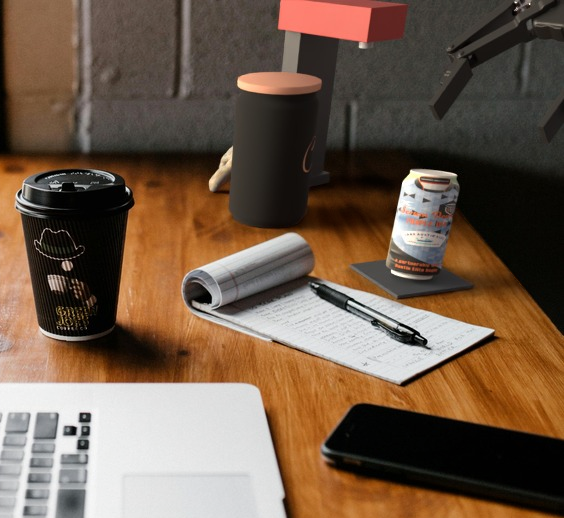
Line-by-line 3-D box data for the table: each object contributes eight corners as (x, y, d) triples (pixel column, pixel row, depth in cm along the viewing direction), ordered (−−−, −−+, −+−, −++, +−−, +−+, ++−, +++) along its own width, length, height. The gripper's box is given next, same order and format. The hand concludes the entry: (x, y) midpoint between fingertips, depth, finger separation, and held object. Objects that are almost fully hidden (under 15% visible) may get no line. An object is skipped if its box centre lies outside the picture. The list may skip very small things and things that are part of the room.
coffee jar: (312, 230, 114) (330, 87, 105) (231, 229, 114) (242, 86, 105) (298, 205, 123) (313, 71, 114) (224, 205, 123) (233, 71, 114)
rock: (224, 159, 145) (227, 115, 141) (255, 161, 144) (259, 117, 140) (206, 194, 128) (210, 145, 124) (241, 197, 127) (246, 148, 123)
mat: (420, 257, 105) (421, 254, 105) (473, 288, 97) (474, 284, 97) (349, 267, 103) (349, 264, 103) (397, 298, 95) (397, 295, 95)
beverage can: (382, 283, 98) (400, 177, 91) (387, 261, 103) (404, 160, 97) (440, 290, 96) (462, 182, 90) (442, 267, 102) (463, 165, 95)
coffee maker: (301, 173, 137) (321, -8, 124) (388, 201, 125) (421, 3, 111) (257, 183, 133) (273, -4, 119) (342, 212, 120) (371, 8, 107)
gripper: (723, -2, 88) (601, 168, 89) (506, -18, 106) (405, 124, 106) (717, -60, 83) (588, 121, 83) (490, -66, 100) (384, 83, 101)
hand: (485, 123), depth 95 cm, fingers open, 13 cm apart
